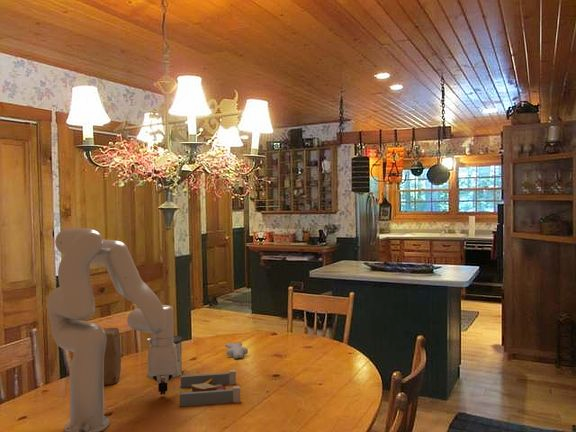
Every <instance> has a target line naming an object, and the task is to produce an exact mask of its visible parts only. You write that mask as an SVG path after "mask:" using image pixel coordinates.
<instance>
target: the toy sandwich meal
mask: <svg viewBox="0 0 576 432" xmlns="http://www.w3.org/2000/svg"><path fill="white" fill-rule="evenodd" d="M212 381H213V379H212V378H211V379H210V380H208V381H206V382H205V383H202V384H194V385H191V387H190V389H191V391H190V392H200V391H214V390H228V389H227V388H226V387H225V385H224V386H223V385H221V384H217V385H215V386H213V385H211V384H212Z"/></svg>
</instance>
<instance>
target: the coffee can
mask: <svg viewBox="0 0 576 432" xmlns="http://www.w3.org/2000/svg"><path fill="white" fill-rule="evenodd" d="M182 340H183V338H182V336H179V335H174V343H175V345H176V349H177V360H178V373H179V374H178V376H175V377H174V378H176V377H179V376H182V374H183V362H182V361H183V357H182V356H183V353H182V348H183V347H182V342H183V341H182ZM161 379H165V375H161Z"/></svg>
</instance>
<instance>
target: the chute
mask: <svg viewBox="0 0 576 432" xmlns="http://www.w3.org/2000/svg"><path fill="white" fill-rule="evenodd" d="M236 375H237V371H236V369H234V370H233V369H230V370H228V372H219V373H218V372H217V373H205V374H204V373H203V374H201V373H200V374H190V375H189V374H187V375H185V374H184V375H180V388H181V389H186V388H191V385H194V384H202V383H205V382H206V381H208V380H210V379H211V378H212V379H213V381H212V384H211V385H213V386H215V385H217V384H221V385H224V386H227V385H228V386H229V385H231V386H232V385H235V386H232V388H231V389H227V390H214V391H200V392H191V391H189V392H187V391H186V392H179V407H191V406H192V405H193V406H204V405H205V404H206V405H217V404H228V403H230V404H231V402H232V403H233V402H234V403H241V386H239V385H238V386H236V385H237V376H236Z"/></svg>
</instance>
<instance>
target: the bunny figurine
mask: <svg viewBox="0 0 576 432" xmlns="http://www.w3.org/2000/svg"><path fill="white" fill-rule="evenodd" d="M225 348H229V349H226V356H230V357H232V358H234V359H243V358H244V355H248V353H249V351H248V350H249V349H248V348H246V347H243V343H242V342H241V341H238V342H236V343H233V342H232V343H230V342H227V343H225Z"/></svg>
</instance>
